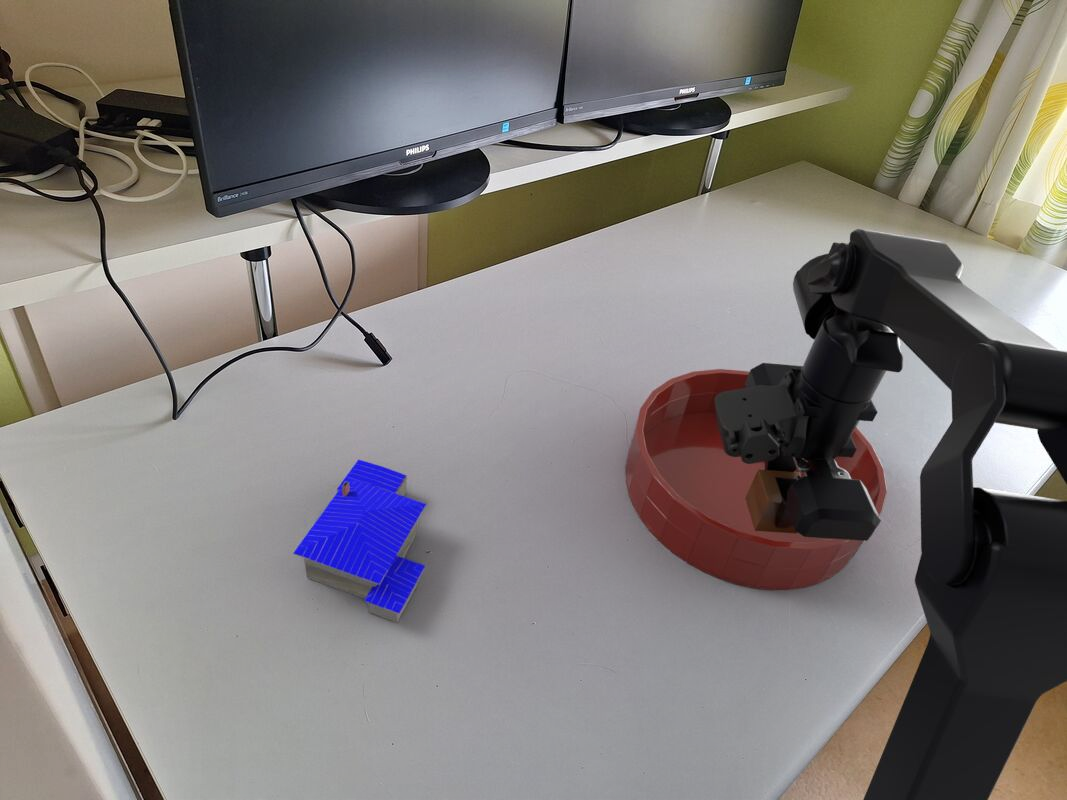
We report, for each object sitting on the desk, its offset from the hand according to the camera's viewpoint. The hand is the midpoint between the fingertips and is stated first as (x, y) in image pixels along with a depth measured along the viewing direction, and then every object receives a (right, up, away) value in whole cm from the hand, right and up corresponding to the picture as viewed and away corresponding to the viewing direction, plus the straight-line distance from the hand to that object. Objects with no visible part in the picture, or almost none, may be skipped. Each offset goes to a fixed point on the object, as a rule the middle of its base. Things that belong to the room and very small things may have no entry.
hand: (774, 508), depth 70 cm
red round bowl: (0, 0, +12) cm, 12 cm away
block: (0, -1, +1) cm, 1 cm away
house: (-38, -4, 0) cm, 39 cm away
